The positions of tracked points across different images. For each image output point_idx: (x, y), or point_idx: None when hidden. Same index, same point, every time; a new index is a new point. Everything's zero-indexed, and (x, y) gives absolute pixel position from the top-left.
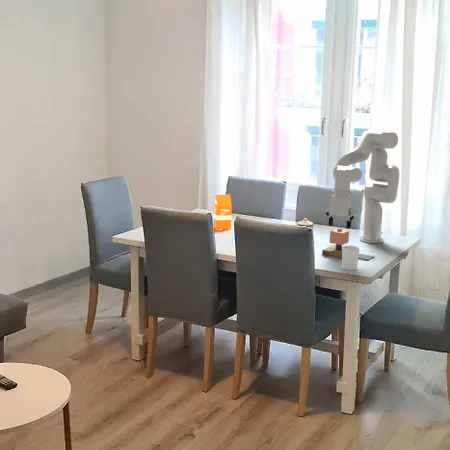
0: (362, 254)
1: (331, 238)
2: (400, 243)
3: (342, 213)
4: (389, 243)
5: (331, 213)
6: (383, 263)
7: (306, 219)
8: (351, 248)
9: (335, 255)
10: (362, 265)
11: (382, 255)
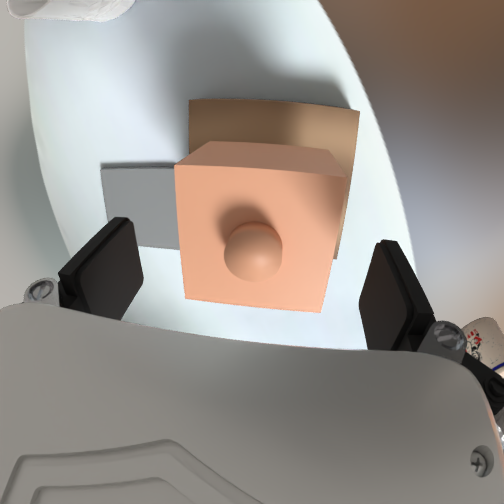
0: (163, 241)
1: (316, 155)
2: None
3: (30, 365)
4: None
5: (432, 376)
6: (49, 175)
7: None
8: (57, 3)
9: (255, 99)
10: (85, 76)
11: None
